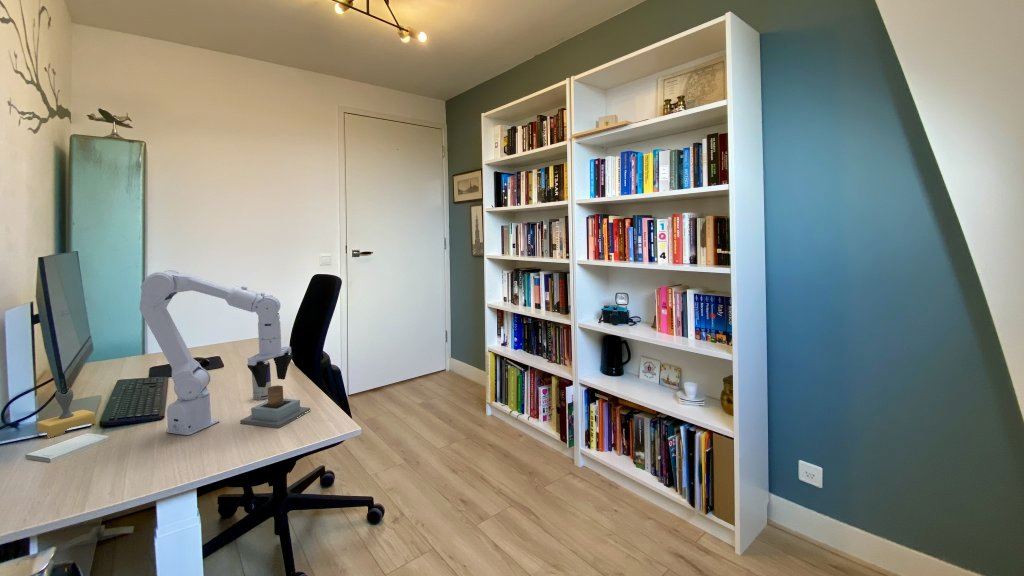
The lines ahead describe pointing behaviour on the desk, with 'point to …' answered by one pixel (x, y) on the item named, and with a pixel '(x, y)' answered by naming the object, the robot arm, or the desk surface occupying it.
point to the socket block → (275, 414)
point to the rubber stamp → (65, 417)
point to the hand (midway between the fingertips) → (271, 382)
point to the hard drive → (67, 447)
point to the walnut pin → (275, 397)
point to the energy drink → (261, 392)
